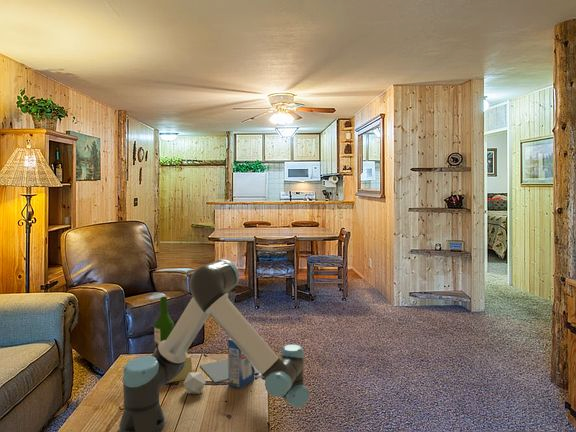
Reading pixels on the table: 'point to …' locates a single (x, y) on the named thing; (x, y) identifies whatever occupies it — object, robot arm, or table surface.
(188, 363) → the cheese
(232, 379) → the milk carton
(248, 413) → the table surface
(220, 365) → the slate mat
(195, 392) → the die
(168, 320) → the wine bottle
